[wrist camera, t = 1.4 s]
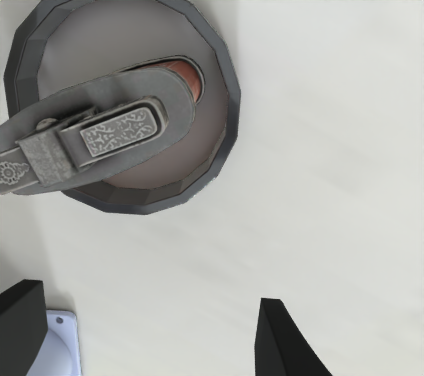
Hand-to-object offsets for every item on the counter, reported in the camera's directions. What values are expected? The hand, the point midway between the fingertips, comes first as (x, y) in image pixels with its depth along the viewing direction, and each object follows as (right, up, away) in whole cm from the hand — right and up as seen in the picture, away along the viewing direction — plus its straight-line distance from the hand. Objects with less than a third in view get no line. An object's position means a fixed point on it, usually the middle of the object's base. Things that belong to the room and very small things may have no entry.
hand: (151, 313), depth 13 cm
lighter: (-2, +9, +8) cm, 12 cm away
